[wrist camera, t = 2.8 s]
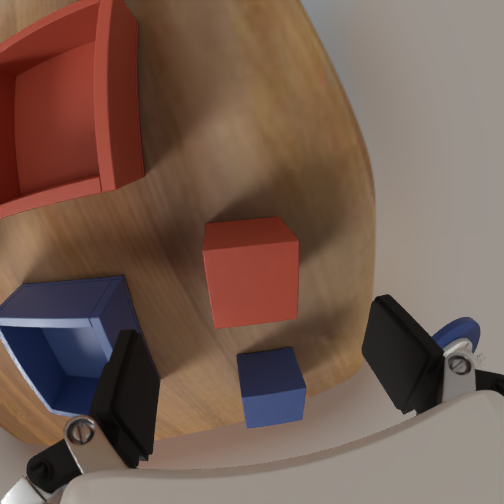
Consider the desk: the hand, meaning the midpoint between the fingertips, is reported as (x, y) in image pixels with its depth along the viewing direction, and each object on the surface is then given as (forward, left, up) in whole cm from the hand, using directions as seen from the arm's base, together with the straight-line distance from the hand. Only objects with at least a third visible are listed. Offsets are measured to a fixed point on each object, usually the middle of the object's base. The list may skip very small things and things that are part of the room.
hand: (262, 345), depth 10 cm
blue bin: (+15, +7, -10) cm, 19 cm away
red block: (0, 0, -10) cm, 10 cm away
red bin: (+12, -12, -10) cm, 19 cm away
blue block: (-1, +12, -10) cm, 16 cm away
